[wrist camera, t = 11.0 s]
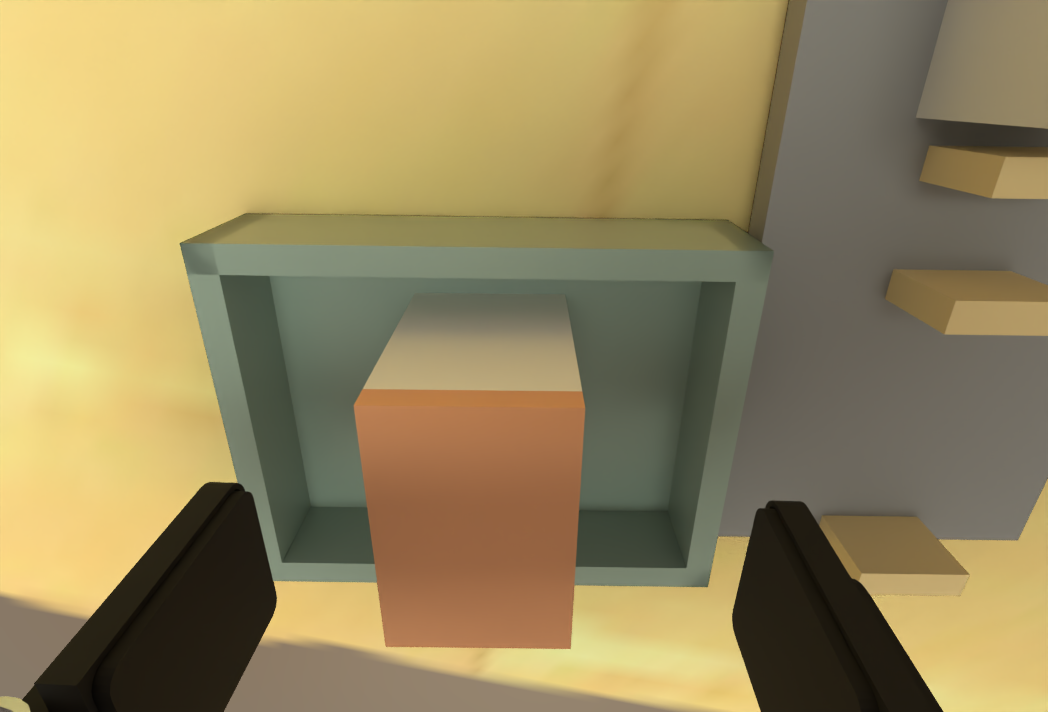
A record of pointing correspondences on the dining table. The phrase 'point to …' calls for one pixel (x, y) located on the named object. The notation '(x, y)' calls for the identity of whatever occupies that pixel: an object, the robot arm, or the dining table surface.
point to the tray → (485, 268)
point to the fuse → (475, 471)
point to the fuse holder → (902, 284)
